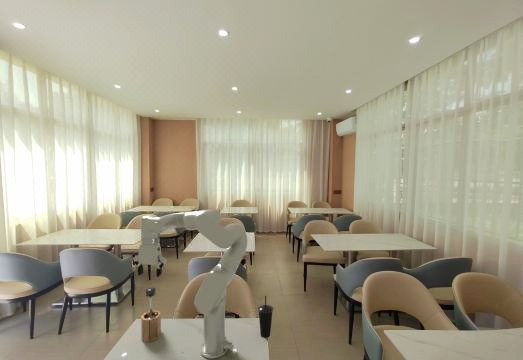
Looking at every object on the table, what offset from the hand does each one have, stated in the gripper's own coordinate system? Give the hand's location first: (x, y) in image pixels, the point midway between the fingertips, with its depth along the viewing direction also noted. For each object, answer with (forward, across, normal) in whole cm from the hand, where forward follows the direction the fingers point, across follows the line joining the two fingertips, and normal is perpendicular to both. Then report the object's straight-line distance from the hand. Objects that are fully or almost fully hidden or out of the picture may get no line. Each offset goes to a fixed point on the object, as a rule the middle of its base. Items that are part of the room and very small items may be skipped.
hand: (149, 275), depth 128 cm
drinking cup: (+31, -57, -10) cm, 65 cm away
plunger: (+23, -1, 0) cm, 23 cm away
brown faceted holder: (+31, -1, 0) cm, 31 cm away
